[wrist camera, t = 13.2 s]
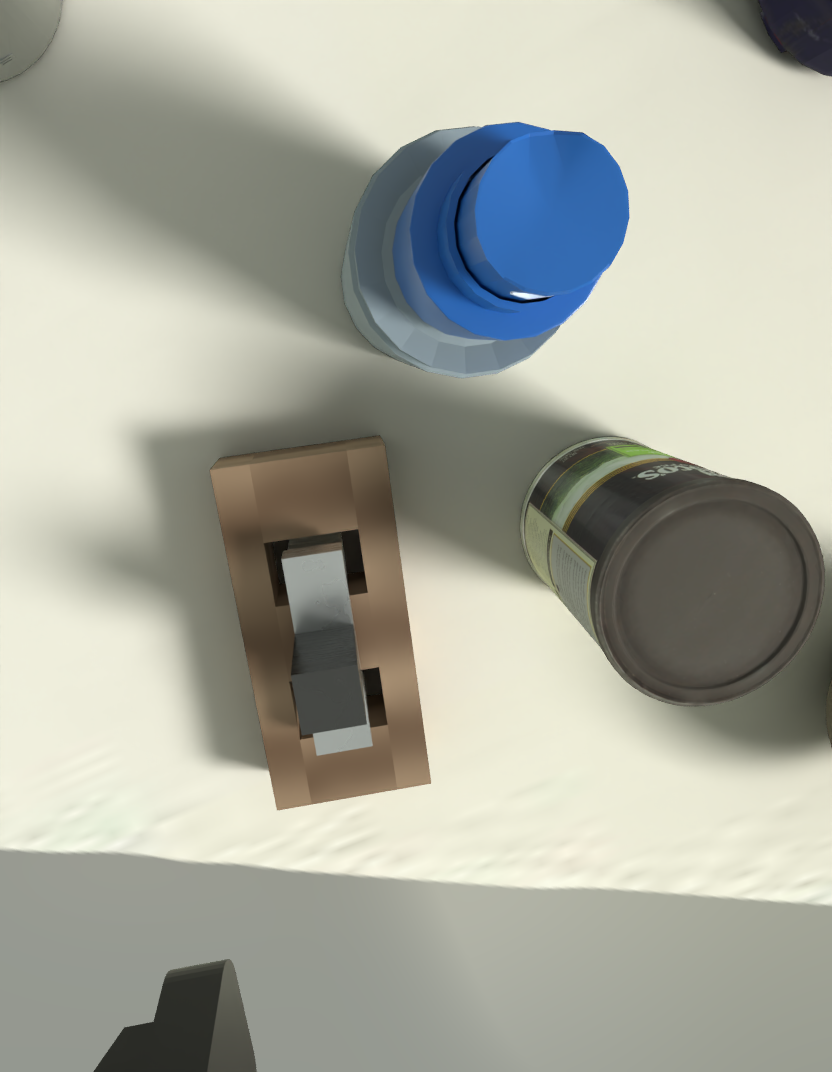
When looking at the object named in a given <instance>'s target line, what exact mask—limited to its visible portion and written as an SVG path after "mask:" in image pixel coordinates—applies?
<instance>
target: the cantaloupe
mask: <svg viewBox="0 0 832 1072" xmlns="http://www.w3.org/2000/svg"><path fill="white" fill-rule="evenodd" d="M826 724H827V730H828V735H829V739H830V743H831V747H832V679H831V682H830V686H829V690H828V694H827V702H826Z"/></svg>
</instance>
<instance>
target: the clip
mask: <svg viewBox="0 0 832 1072" xmlns="http://www.w3.org/2000/svg"><path fill="white" fill-rule="evenodd" d="M281 560H282V566H283V571H284V577H285V582H286V588H287V593H288V599H289V604H290V610H291V616H292V621H293V627H294V632H295V638H294V648H293V658H292V669H291V680H292V685H293V690H294V696H295V701H296V707H297V712H298V717H299V723H300V728H301V734H302V735H308V734H313V737H314V743H315V748H316V754H317V756H319V755H324V754H330V753H336V752H342V751H348V750H353V749H359V748H365V747H371V746H373V744H372V735H371V728H370V722H369V714H368V705H367V696H366V688H365V680H364V673H363V670H361V665H360V659H359V652H358V646H357V640H356V633H355V627H354V621H353V614H352V608H351V602H350V595H349V589H348V582H347V572H346V561H345V553H344V547H343V540H342V534H341V532H335V533H328V534H321V535H315V536H308V537H301V538H295V539H289V545H288V550H284V551H283V553H282V559H281Z"/></svg>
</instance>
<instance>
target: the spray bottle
mask: <svg viewBox="0 0 832 1072" xmlns="http://www.w3.org/2000/svg"><path fill="white" fill-rule="evenodd" d="M628 221H629V200H628V189H627V187H626V184H625V181H624V178H623V175H622V172H621V169H620V167H619V165H618V164H617V163H616V161H615V160H614V159H613V157H612V156H611V155H610V153H609V152H608V151H607V149H606V148H605V147H604V146H603V145H602V144H600V143H598V142H597V141H595V140H593V139H592V138H590V137H588V136H587V135H586V134H584V133H582V132H569V131H556V130H553V131H551V130H549V129H545V128H541V127H537V126H533V125H529V124H525V123H521V122H513V123H504V124H494V125H486V126H484V127H474V126H473V127H464V128H455V129H445V130H436V131H434V132H432V133H430V134H428V135H425V136H423V137H421V138H419V139H417V140H415V141H413V142H411V143H409V144H407V145H405V146H403V147H401V148H400V149H399V150H398V151H397V152H396V153H395V154H394V155H393V156H392V157H391V158H390V159H389V160H388V161H387V162H386V163H385V164H384V165H383V166H382V167H381V168H380V169H379V170H378V171H377V172H376V173H375V174H374V175H373V176H372V178H371V180H370V182H369V184H368V186H367V188H366V190H365V192H364V194H363V196H362V198H361V200H360V202H359V204H358V206H357V208H356V210H355V212H354V216H353V220H352V224H351V228H350V232H349V237H348V241H347V245H346V249H345V255H344V261H343V267H342V273H341V281H342V288H343V295H344V302H345V305H346V307H347V309H348V312H349V314H350V316H351V318H352V320H353V322H354V324H355V326H356V328H357V329H358V330H359V331H360V333H361V334H362V335H363V336H364V337H365V338H366V339H367V340H368V341H369V342H370V343H371V344H372V346H373V347H375V348H376V349H378V350H380V351H382V352H384V353H385V354H387V355H389V356H391V357H392V358H394V359H396V360H399V361H401V362H404V363H406V364H409V365H411V366H414V367H417V368H419V369H422V370H424V371H427V372H432V373H437V374H442V375H448V376H453V377H458V378H467V377H475V376H482V375H490V374H497V373H499V372H501V371H503V370H505V369H507V368H509V367H511V366H513V365H515V364H517V363H520V362H522V361H524V360H526V359H528V358H529V357H530V356H532V355H533V354H534V353H535V352H536V351H537V350H538V349H539V348H540V347H541V346H542V345H543V344H544V343H545V342H546V341H547V340H548V339H549V338H551V337H552V336H553V335H554V334H555V333H556V331H557V330H558V328H559V327H560V325H561V324H563V323H564V322H565V321H566V320H567V319H568V318H569V317H570V316H571V315H572V314H574V313H575V312H576V311H577V310H578V309H579V308H580V307H581V306H582V305H583V304H584V303H585V302H586V301H587V299H588V298H589V296H590V294H591V292H592V291H593V289H594V287H595V285H596V284H597V282H598V280H599V278H600V277H601V275H602V273H603V272H604V271H605V270H606V269H607V268H608V267H609V266H610V265H611V264H612V262H613V260H614V258H615V256H616V255H617V253H618V251H619V249H620V248H621V246H622V244H623V242H624V237H625V233H626V229H627V225H628Z"/></svg>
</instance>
